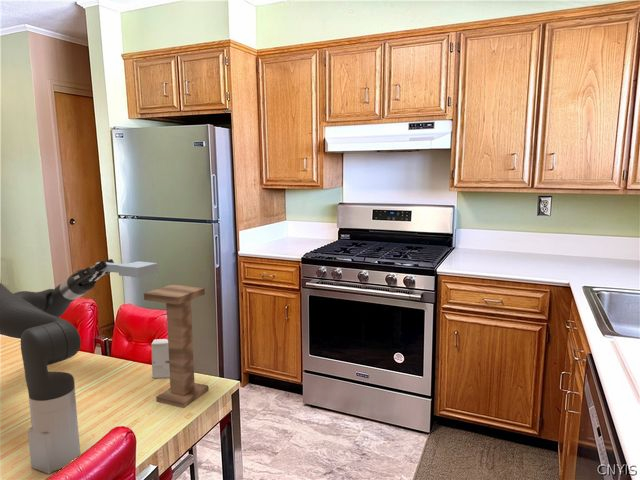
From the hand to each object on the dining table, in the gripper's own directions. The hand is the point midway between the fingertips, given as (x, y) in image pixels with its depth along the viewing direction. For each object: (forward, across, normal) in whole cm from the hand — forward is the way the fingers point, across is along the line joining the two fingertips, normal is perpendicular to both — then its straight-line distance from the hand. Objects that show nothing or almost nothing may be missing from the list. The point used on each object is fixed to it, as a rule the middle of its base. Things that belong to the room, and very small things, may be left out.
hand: (108, 262), depth 144 cm
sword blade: (+4, 0, -5) cm, 7 cm away
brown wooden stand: (+3, 0, -48) cm, 48 cm away
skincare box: (-10, -9, -40) cm, 42 cm away
